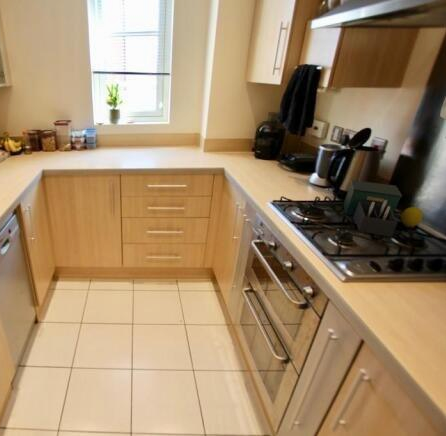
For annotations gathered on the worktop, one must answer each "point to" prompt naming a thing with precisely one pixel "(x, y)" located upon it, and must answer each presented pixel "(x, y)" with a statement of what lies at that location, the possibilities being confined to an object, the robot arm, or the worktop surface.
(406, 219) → the lemon
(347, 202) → the bread bin
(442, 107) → the robot arm
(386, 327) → the worktop surface
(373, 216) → the cutlery holder
